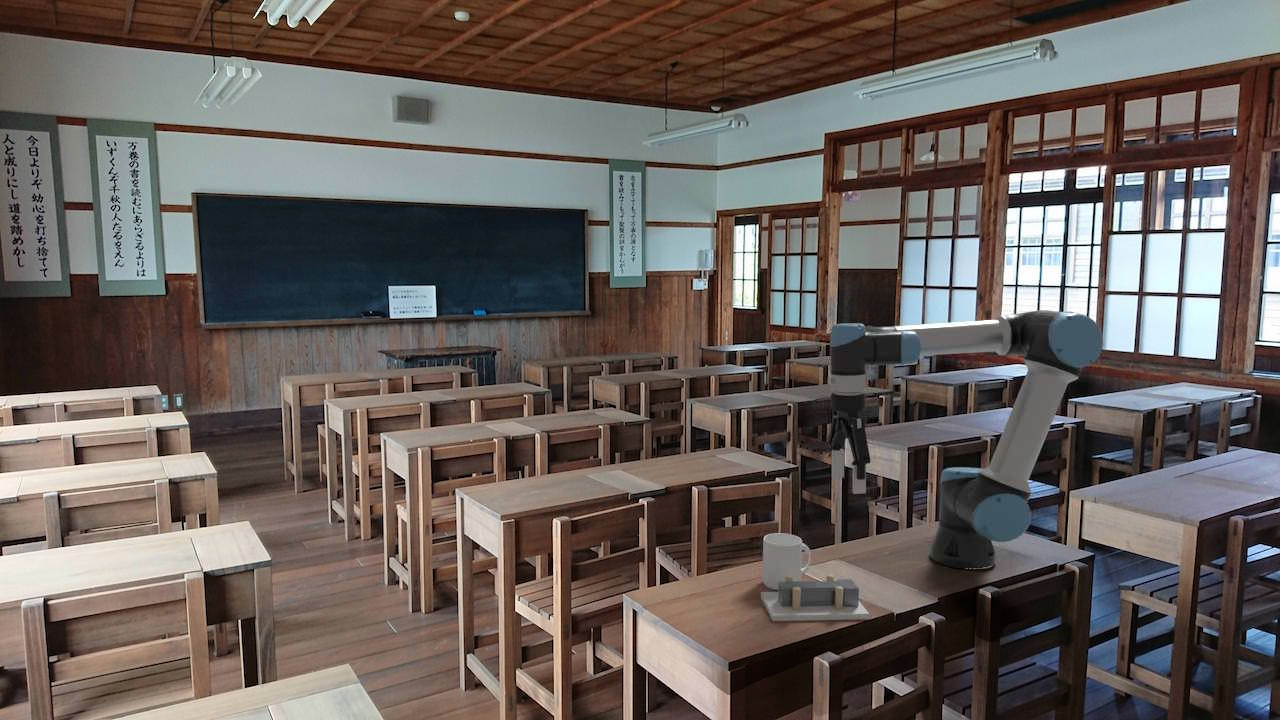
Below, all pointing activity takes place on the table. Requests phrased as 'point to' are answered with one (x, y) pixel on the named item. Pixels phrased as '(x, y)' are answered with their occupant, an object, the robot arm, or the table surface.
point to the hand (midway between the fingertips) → (848, 485)
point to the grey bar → (819, 593)
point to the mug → (782, 559)
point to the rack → (811, 607)
